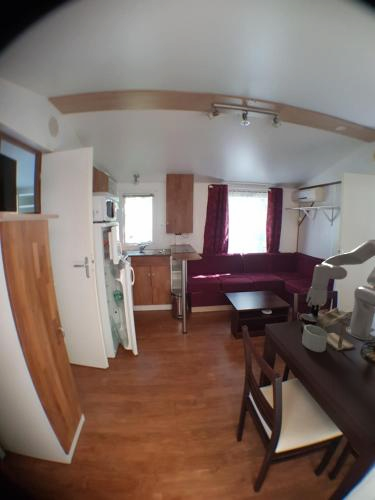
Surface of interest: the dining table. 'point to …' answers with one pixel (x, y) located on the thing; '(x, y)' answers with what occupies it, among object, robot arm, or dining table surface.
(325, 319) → the tipping lever
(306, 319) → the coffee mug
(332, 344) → the lever stand
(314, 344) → the cup
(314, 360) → the dining table surface
